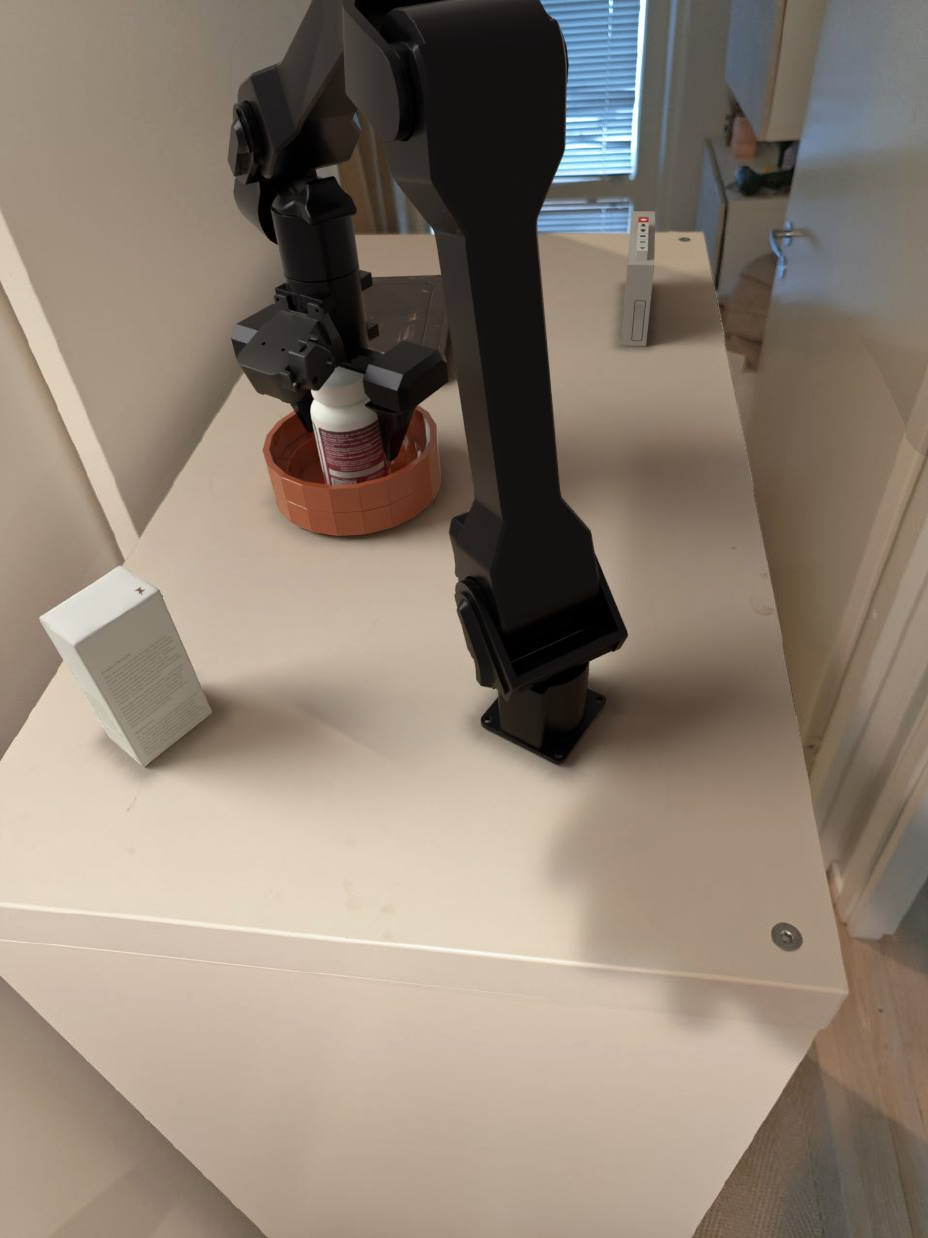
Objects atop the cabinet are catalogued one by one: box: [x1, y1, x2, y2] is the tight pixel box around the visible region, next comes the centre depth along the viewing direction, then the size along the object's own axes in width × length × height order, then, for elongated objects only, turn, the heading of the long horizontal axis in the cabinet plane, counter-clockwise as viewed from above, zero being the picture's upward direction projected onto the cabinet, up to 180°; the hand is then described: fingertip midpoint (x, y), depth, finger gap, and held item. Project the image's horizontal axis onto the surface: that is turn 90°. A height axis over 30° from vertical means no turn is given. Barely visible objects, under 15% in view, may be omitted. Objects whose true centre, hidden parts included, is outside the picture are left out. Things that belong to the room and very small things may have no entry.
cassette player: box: [621, 210, 656, 347], centre depth 97 cm, size 16×3×10 cm, turn 171°
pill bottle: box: [311, 367, 392, 485], centre depth 74 cm, size 6×6×11 cm
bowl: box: [262, 404, 442, 537], centre depth 76 cm, size 15×15×6 cm
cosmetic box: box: [38, 565, 213, 768], centre depth 55 cm, size 6×4×12 cm
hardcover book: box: [363, 274, 451, 363], centre depth 99 cm, size 16×23×2 cm
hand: (351, 444), depth 75 cm, fingers open, 9 cm apart
